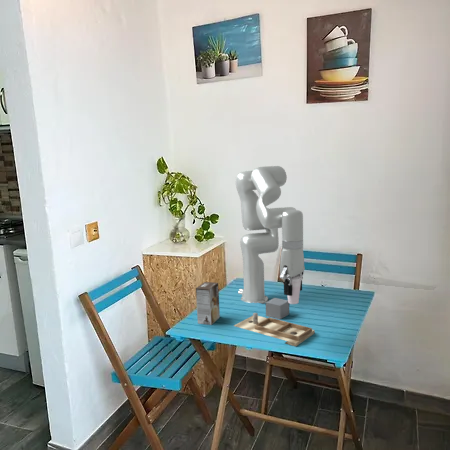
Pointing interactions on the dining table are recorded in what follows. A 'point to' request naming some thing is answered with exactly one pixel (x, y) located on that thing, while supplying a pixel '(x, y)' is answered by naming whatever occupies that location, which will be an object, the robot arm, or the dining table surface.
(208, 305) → the coffee box
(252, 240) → the robot arm
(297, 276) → the smoothie
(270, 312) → the gray cube
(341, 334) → the dining table surface
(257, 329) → the board
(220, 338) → the dining table surface
